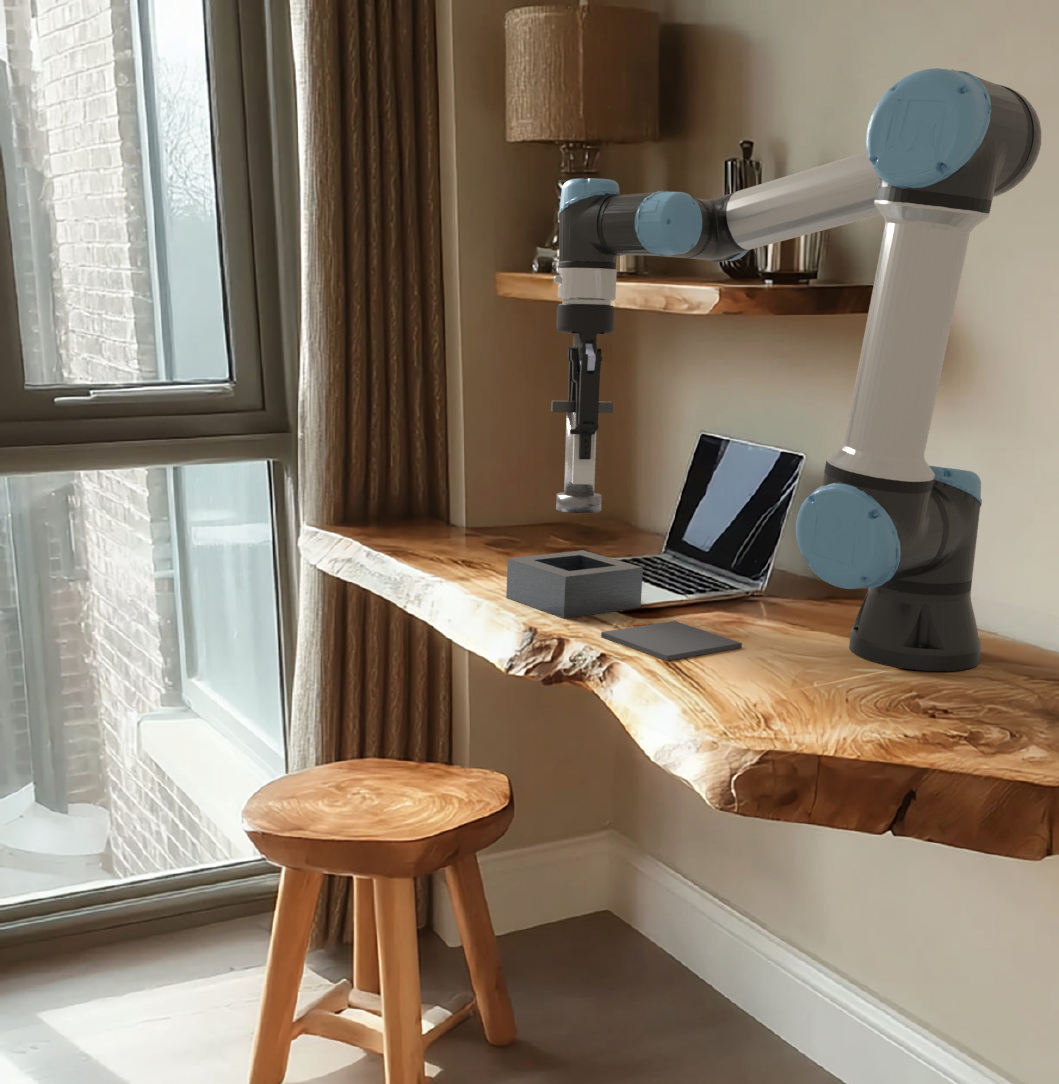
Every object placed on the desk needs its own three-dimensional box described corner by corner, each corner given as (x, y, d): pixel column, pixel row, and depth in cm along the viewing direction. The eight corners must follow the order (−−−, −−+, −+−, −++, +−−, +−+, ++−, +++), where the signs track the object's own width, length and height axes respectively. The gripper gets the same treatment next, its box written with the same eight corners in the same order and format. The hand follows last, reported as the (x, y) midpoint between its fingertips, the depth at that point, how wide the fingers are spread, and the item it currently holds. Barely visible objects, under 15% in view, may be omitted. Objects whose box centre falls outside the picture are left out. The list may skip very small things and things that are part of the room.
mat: (741, 647, 156) (741, 642, 156) (666, 660, 149) (667, 655, 149) (674, 625, 165) (674, 620, 165) (601, 636, 158) (601, 632, 158)
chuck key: (604, 506, 176) (608, 400, 174) (611, 513, 170) (616, 403, 168) (546, 505, 175) (549, 399, 173) (551, 512, 170) (554, 402, 167)
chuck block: (640, 607, 174) (642, 567, 173) (563, 618, 167) (565, 576, 166) (581, 588, 184) (582, 550, 183) (506, 597, 177) (507, 558, 176)
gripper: (549, 302, 176) (544, 472, 180) (565, 301, 159) (560, 489, 164) (604, 303, 177) (598, 473, 181) (625, 303, 160) (618, 490, 164)
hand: (580, 481), depth 172 cm, fingers closed on chuck key, 4 cm apart
